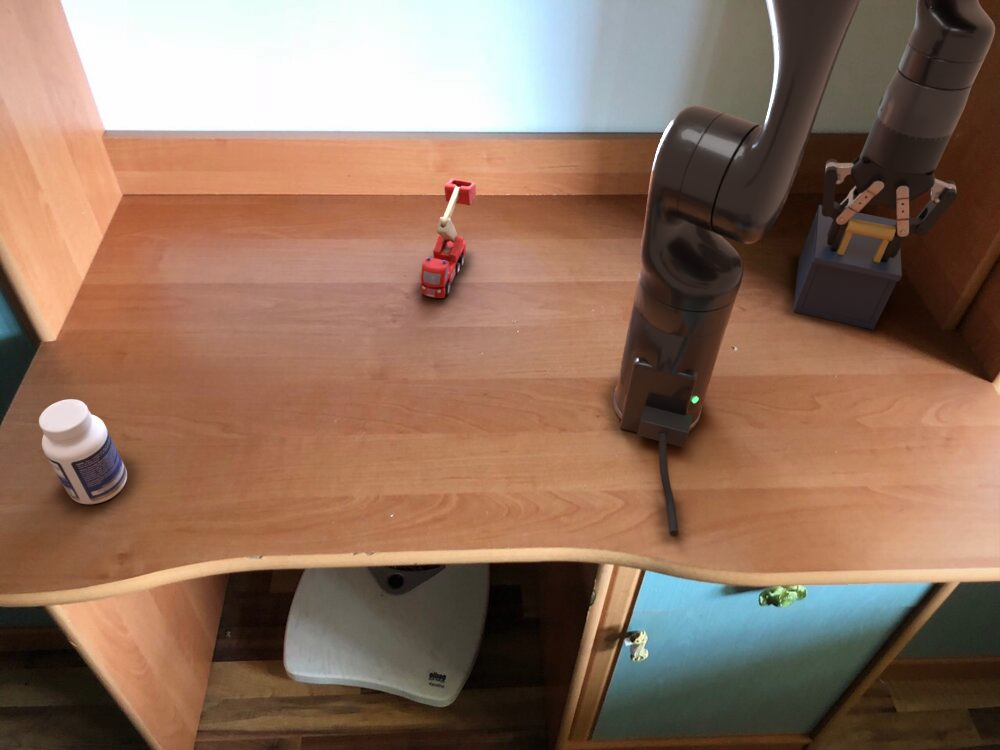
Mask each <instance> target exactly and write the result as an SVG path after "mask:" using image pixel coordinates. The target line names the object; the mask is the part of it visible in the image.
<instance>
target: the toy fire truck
mask: <svg viewBox="0 0 1000 750" xmlns="http://www.w3.org/2000/svg"><path fill="white" fill-rule="evenodd" d="M476 195H477V184H476V182H475V181H468V180H462V179H456V178H451V179H449V180H448V181H447V182H446V183H445V185H444V197H445V202H447V203H448V204H447V206H446V209H445V211H444V214H443V216H440V217H439V221H438V226H437V229H436V233H437V234H438V236H437V239H436V242H435V245H434V247H433V250H432V253H433V255H432V256H433V257H430V256H427V257H425V259H424V260H423V262H422V266H421V271H420V292H421V294H422V295H424V296H426V297H429V298H435V299H444V298H445V297H446V295H449V294H450V292H451V285H452V283H453V281H454V278H455V277H456V275H457V274H459V273H460V270H461V267H463V266H464V263H465V257H466V255H467V242H466V241H464V237H463V236H458V232H457V231H456V228H455V226H454V223H453V221H452V219H451V218H452V215H453V214H454V211H455V208H456V206H457V204H458V205H465V206H471V205H472V203H473V201H474V198H476Z"/></svg>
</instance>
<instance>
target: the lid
mask: <svg viewBox="0 0 1000 750" xmlns="http://www.w3.org/2000/svg"><path fill="white" fill-rule="evenodd" d="M816 212H817V220H816V234H815V247H814V260H813V263H816V264H821V265H825V266H830V267H835V268H839V269H844V270H849V271H854V272H858V273H863V274H868V275H872V276H877V277H882V278H886V279H891V280H896V281H897V282H900V281H901V279H902V277H903V273H902V272H903V271H902V257H901V248H900V249H899V251H898V253H897V255H896V256H895V257H894V258H889V260H888V261H887V262H886V261H881V258H882V256H883V254H884V251H885V249H886V247H887V245H888V243H889V241H892V239H893V237H894V235H895V231H896V227H893V226H892V225H894V226H895V224H896V222H897V219H893V218H888V217H882V216H878V215H873V214H867V213H862V212H858V213H855V214H854V215H853V216H852V217H851V219H850V220H849V221H848V222H847V227H846V230H845V232H844V235H843V237H842V240H841V242H840V245H839V247H838V249H837V251H834V250H830V247H831V245H828V244H827V236H828V232H829V229H830V227H831V224H832V222H833V219H832V218H831V217H825V216H823V215H822V204H819V205H818V207H817V210H816Z"/></svg>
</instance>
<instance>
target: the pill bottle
mask: <svg viewBox="0 0 1000 750" xmlns="http://www.w3.org/2000/svg"><path fill="white" fill-rule="evenodd" d="M38 425H39V427H40V429H41V431H42V433H43V436H42V438H41V448H42V451H43V453H44V455H45V457H46V458H47V460H48V462H49V464H50V465H51V468H52V469H53V471H54V472H55V474H56V476H57V477H58V479H59V481H60V483H61V484H62V486H63V488H64V489H65V491H66V494H68V496H69V497H70V498H71V500H72V501H74V502H76V503H78V504H83V505H95V504H96V505H97V504H100V503H104V502H106V501H108V500H110V499H113V498H114V497H116V495H118V494H119V493H120V492H121V491H122V490H123V488H124V486H125V485H126V482H127V479H128V471H127V467H126V466H125V464H124V461H123V459H122V457H121V456H120V453H119V451H118V449H117V447H116V445H115V443H114V441H113V439H112V436H111V435H110V432H109V430H108V429H107V428H108V427H107V426H106V424H105V423H104V421H103V420H102V418H100V417H98V416H97V415H94V414H92V413H91V411H90V410H89V407H88V406H87V404H86V403H85V402H83V401H82V400H79V399H75V398H74V399H73V398H69V399H67V398H66V399H63V400H58V401H56V402H54V403H52V404H51V405H49V406H47V407H46V408H44V410H43V411H42V413H41V414H40V415H39V418H38Z"/></svg>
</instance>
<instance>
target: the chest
mask: <svg viewBox="0 0 1000 750" xmlns="http://www.w3.org/2000/svg"><path fill="white" fill-rule="evenodd" d="M816 220H817V211H816V212H815V214H814V218H813V220H812V224H811V226H810V228H809V231H808V234H807V236H806V240H805V242H804V245H803V248H802V249H801V253H800V256H799V258H798V262H797V263H798V264H797V271H796V272H797V274H796V282H795V291H794V292H795V293H794V301H793V302H794V303H793V310H792V311H793V313H797V314H801V315H805V316H810V317H815V318H819V319H823V320H829V321H833V322H837V323H841V324H846V325H850V326H854V327H859V328H864V329H868V330H875V328H876V325H877V323H878V322H879V319H880V317H881V316H882V313H883V312H884V309H885V307H886V305H887V303H888V301H889V299H890V297H891V295H892V293H893V291H894V289H895V287H896V284H897V283H898V281H896V280H891V279H886V278H882V277H877V276H872V275H868V274H863V273H858V272H854V271H849V270H844V269H839V268H835V267H830V266H825V265H821V264H816V263H813V260H814V247H815V234H816Z"/></svg>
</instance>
